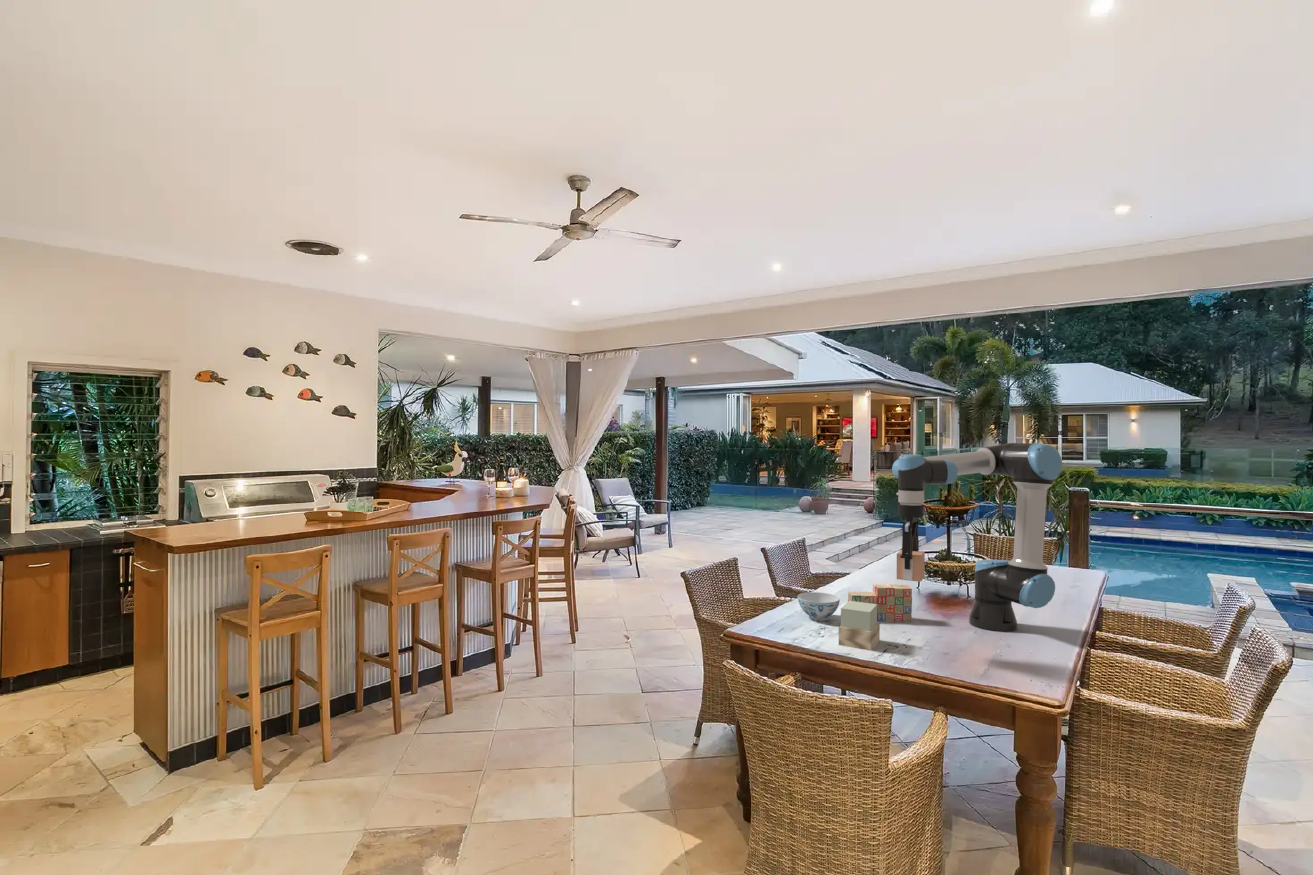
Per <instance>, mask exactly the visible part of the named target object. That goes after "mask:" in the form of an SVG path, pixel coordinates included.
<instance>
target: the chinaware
mask: <svg viewBox="0 0 1313 875" xmlns="http://www.w3.org/2000/svg"><path fill="white" fill-rule="evenodd" d="M797 600H798V603H799V606H800V609H801V610H802V611H803V612H804V613H805V614H806V615H807V616H808V618H809V619H810V620H813V621H816V622H817V621H818V622H819V621H820V622H823V621H828V619H829V617H831V616H832V615H834V613H835V612H836V611H837V610H838V608H839V605H840V601H841V598H840V597H839V596H838V595H836V594H831V593H827V592H818V591H817V592H815V591H811V592H801V593H799V594H798V595H797Z"/></svg>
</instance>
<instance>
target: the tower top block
mask: <svg viewBox="0 0 1313 875" xmlns="http://www.w3.org/2000/svg"><path fill="white" fill-rule="evenodd" d="M877 622H878V621H877V604H871V603H863V602H856V601H848V600H847V602H846V603H845V604H844V605H842V607H841V608H840V625H841V627H845V628H851V629H858V630H865V631H870V630H871V629H872V628H873V627H874V626H875V624H876V623H877Z"/></svg>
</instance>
